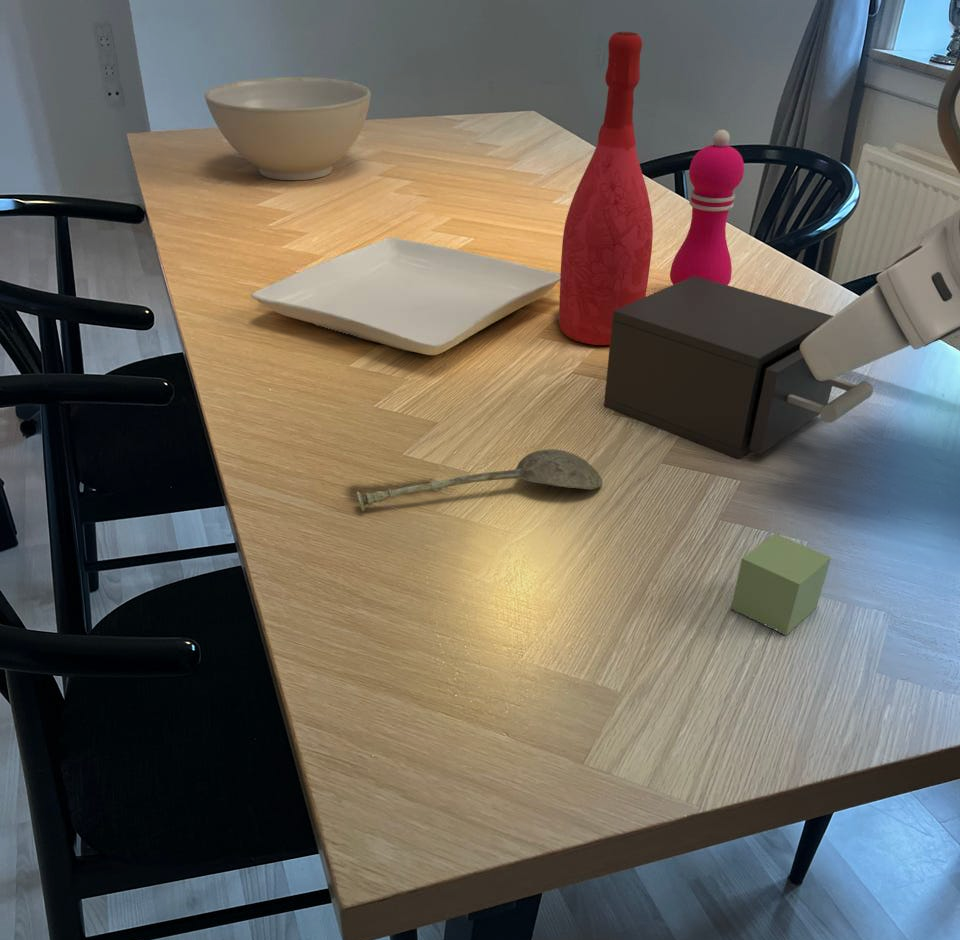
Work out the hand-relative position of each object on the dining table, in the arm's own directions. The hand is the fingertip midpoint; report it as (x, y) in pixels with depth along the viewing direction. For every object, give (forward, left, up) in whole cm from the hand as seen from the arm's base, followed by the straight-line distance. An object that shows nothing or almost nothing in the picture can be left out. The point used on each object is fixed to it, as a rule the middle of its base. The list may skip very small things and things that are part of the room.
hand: (816, 358), depth 88 cm
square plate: (+50, +3, -9) cm, 51 cm away
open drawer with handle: (+5, 0, -7) cm, 9 cm away
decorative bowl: (+111, -28, -9) cm, 115 cm away
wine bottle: (+30, -8, -9) cm, 32 cm away
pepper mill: (+26, -22, -9) cm, 35 cm away
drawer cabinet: (+10, 0, -8) cm, 13 cm away
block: (-12, +25, -8) cm, 29 cm away
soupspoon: (+15, +28, -9) cm, 33 cm away
